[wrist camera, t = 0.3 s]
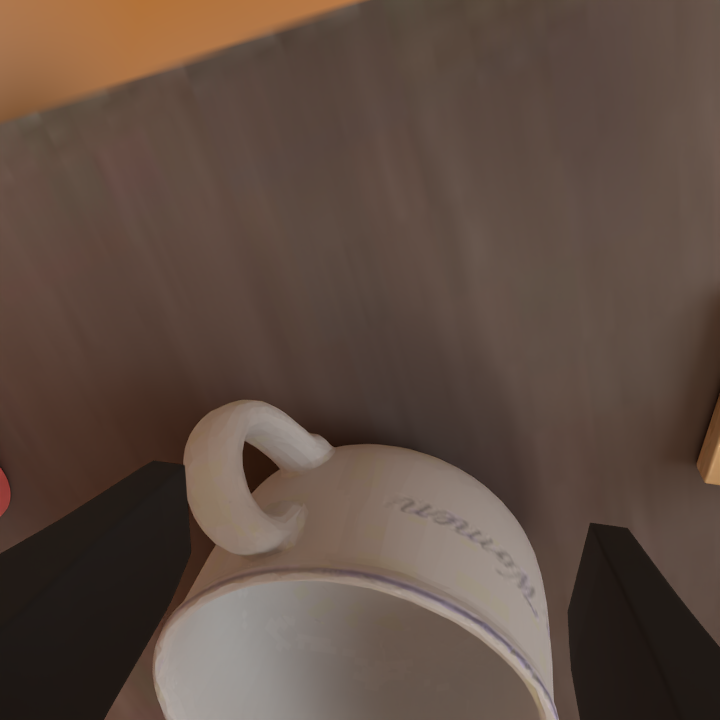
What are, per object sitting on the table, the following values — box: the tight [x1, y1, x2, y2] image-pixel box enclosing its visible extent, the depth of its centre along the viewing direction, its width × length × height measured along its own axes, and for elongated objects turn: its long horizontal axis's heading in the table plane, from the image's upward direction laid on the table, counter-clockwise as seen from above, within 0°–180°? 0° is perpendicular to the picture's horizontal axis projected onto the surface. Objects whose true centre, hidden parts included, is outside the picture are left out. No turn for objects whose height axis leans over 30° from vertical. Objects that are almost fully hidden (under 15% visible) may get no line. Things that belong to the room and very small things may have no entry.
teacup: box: [153, 400, 559, 720], centre depth 21 cm, size 14×11×8 cm
